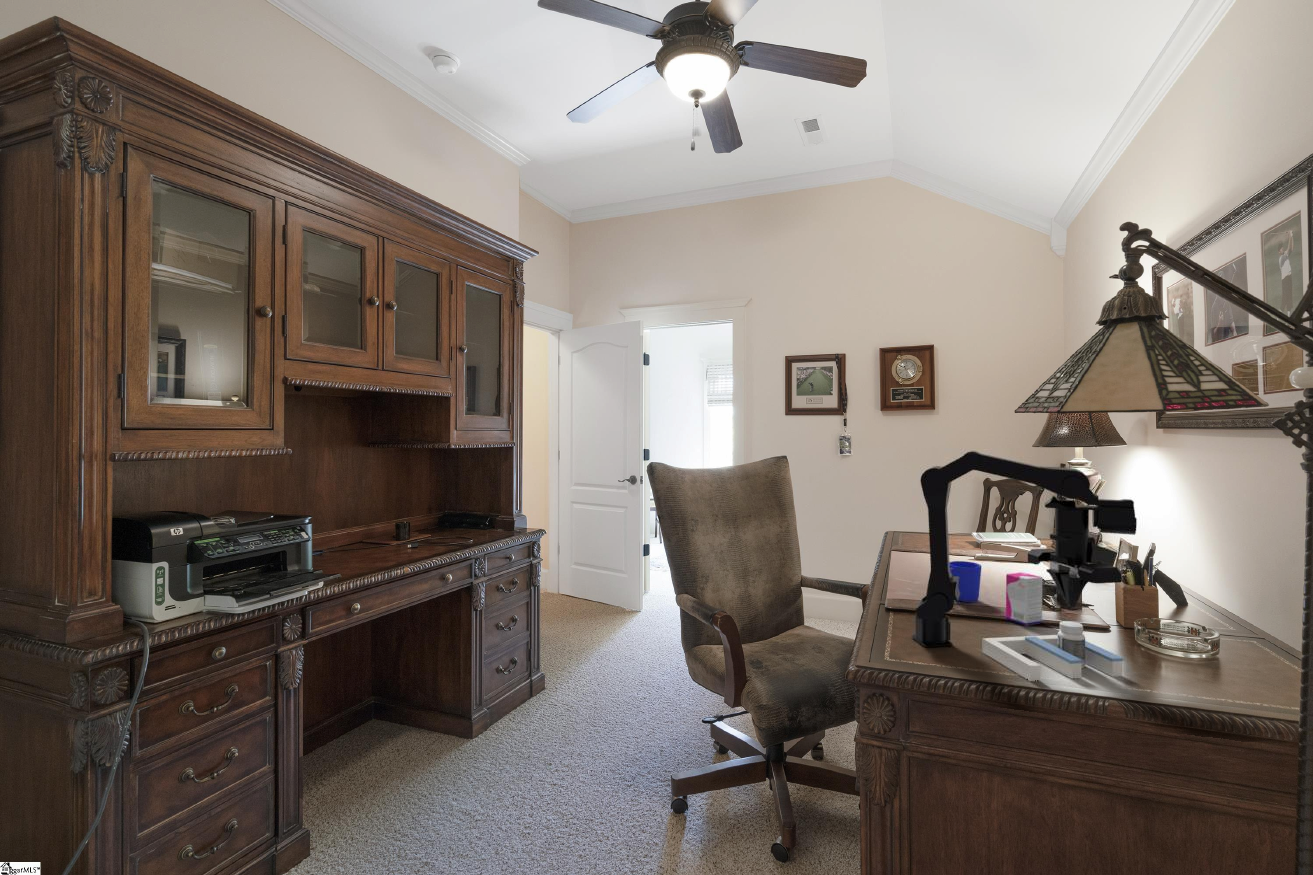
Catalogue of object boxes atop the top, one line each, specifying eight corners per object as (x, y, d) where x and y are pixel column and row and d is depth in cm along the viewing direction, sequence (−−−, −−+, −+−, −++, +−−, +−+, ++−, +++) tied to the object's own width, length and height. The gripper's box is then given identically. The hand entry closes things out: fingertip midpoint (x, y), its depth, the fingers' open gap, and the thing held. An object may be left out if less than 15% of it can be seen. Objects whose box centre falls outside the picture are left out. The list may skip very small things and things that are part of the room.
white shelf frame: (1030, 681, 119) (1030, 662, 119) (982, 652, 134) (982, 635, 134) (1123, 676, 120) (1123, 657, 120) (1065, 647, 135) (1065, 631, 135)
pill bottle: (1091, 667, 125) (1091, 626, 124) (1071, 670, 124) (1071, 628, 123) (1070, 659, 129) (1071, 619, 129) (1051, 661, 128) (1051, 621, 128)
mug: (930, 598, 173) (930, 563, 173) (965, 594, 177) (965, 559, 176) (952, 607, 165) (952, 570, 165) (988, 602, 169) (988, 566, 169)
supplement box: (1043, 622, 152) (1043, 576, 152) (1026, 626, 150) (1026, 579, 149) (1021, 615, 157) (1021, 571, 157) (1004, 619, 155) (1004, 573, 155)
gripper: (1148, 538, 117) (1148, 619, 118) (1073, 522, 136) (1073, 592, 136) (1093, 539, 116) (1093, 622, 117) (1025, 523, 135) (1025, 594, 135)
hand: (1071, 606), depth 126 cm, fingers closed
